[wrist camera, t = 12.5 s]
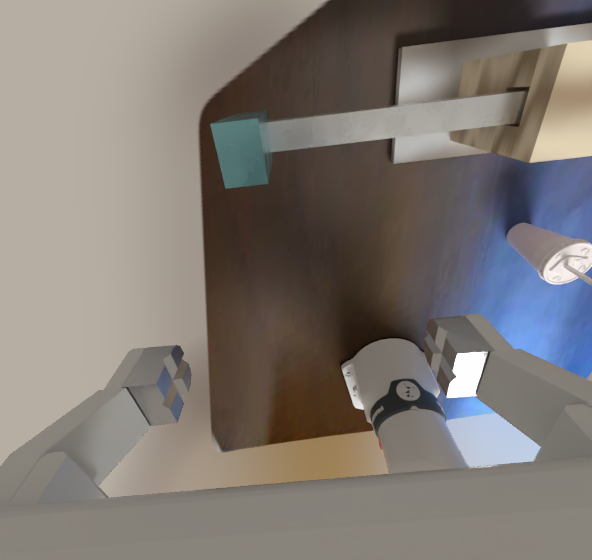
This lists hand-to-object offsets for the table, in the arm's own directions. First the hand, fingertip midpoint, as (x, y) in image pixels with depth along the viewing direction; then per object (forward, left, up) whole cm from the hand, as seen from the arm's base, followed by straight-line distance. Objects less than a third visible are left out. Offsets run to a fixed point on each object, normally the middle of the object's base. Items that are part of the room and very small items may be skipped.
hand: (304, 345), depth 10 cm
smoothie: (-15, -34, -34) cm, 51 cm away
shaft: (+4, -9, -25) cm, 26 cm away
